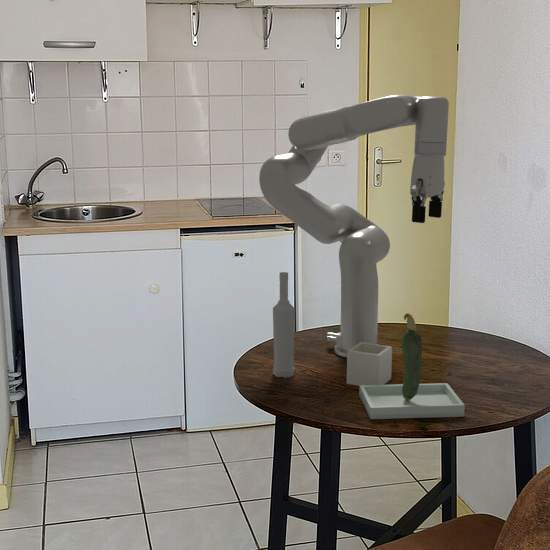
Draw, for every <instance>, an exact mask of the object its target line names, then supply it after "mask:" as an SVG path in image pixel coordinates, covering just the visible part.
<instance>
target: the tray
mask: <svg viewBox="0 0 550 550" xmlns="http://www.w3.org/2000/svg"><path fill="white" fill-rule="evenodd" d="M358 387H359V389H358V391H359V394H358V396H359V398H360V401H361V403H362V405H363V406H364V409H365V411H366V412H367V415H368V417H369V419H370V420H383V419H384V420H385V419H389V420H390V419H414V418H415V419H418V418H419V419H420V418H422V419H423V418H457V417H465V409H466V408H465V407H466V406H465V403H464V402H463V401H462V400H461V399H460V397H459V396H458V395H457V394H456V393H455V392H456V391H454V390H453V388H452V387H451V386H450V384H449V383H445V382H444V383H443V382H442V383H440V382H439V383H436V382H435V383H419V387H418V391H417V394H416V395H415V397H413V398H412V399H411V400H410V401H406V400H405V398H403V393H402V387H403V383H401V384H399V383H398V384H384V385H360V386H358Z"/></svg>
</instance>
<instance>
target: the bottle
mask: <svg viewBox="0 0 550 550" xmlns="http://www.w3.org/2000/svg"><path fill="white" fill-rule="evenodd" d="M295 309H296V308H295V307H294V306H293V305H292V304H291V303H290V300H289V272H286V271H282V272H279V300H278V302H277V304H275V306H273V308H272V328H273V329H272V331H273V367H272V373H273V375H275V376H274V377H276V376H277V378H279V377H284V378H285V379H286V378H287V377H288V378H291V377H293V376H294V374H295V367H294V358H295V357H294V356H295V354H294V353H295V351H294V348H295V347H294V346H295V318H296V317H295V313H296V312H295V311H296V310H295ZM284 378H283V379H284Z"/></svg>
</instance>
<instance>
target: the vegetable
mask: <svg viewBox="0 0 550 550" xmlns="http://www.w3.org/2000/svg"><path fill="white" fill-rule="evenodd" d="M403 319H404V321H406V326H407V330H406V331H405V332H404V333H403V335H402V337H401V348H402V349H401V350H402V358H403V361H404V374H403V379H402V380H403V381H402V384H403V387H402V393H403V398H405V400H406V401H410V400H411V399H412V398H413V397H415V395H416V394H417V391H418V387H419V384H421V383H420V381H421V372H422V357H423V356H422V355H423V342H422V341H423V340H422V337H421V335H420V333H419V332H418V331H417V324H416V322H415V319H414V317H413V315H411V314H410V313H408V312H407V313H405V314H404V316H403Z"/></svg>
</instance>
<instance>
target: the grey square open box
mask: <svg viewBox="0 0 550 550" xmlns="http://www.w3.org/2000/svg"><path fill="white" fill-rule="evenodd" d="M392 362H393V346H390V345H383V344H378V343H377V344H371V343H364V342H360V343H358V344H357V345H355V346H354V347H352V348H351V349H349V350H348V351H347V357H346V385H353V386H358V387H359V386H360V385H387V383H388V382H390V380H392Z"/></svg>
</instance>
